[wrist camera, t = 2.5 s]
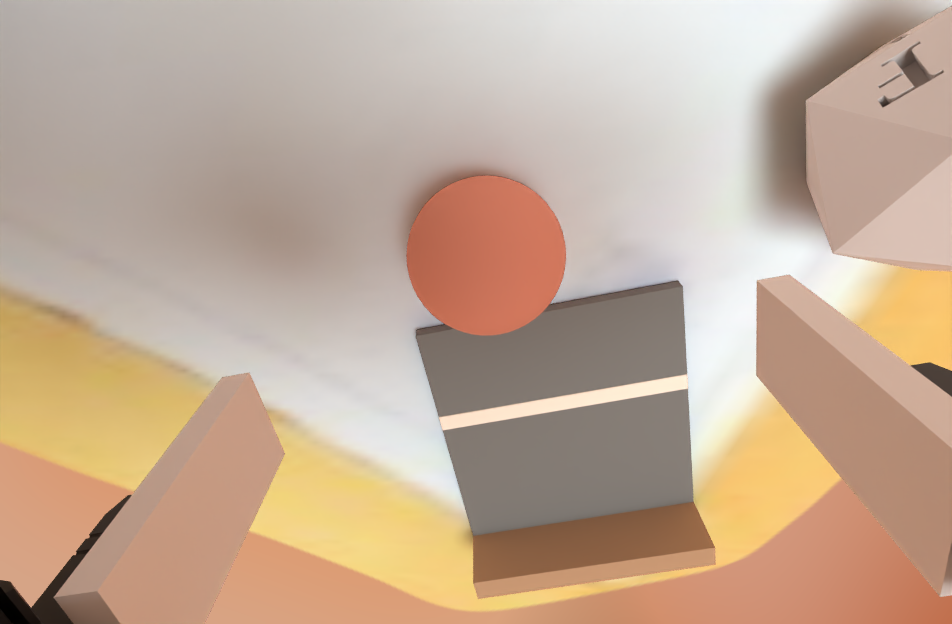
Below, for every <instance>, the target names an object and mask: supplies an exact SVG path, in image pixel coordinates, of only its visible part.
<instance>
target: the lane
mask: <svg viewBox="0 0 952 624" xmlns="http://www.w3.org/2000/svg"><path fill="white" fill-rule="evenodd" d="M416 339H417V342H418V346H419V349H420V353H421V356H422V360H423V363H424V367H425V370H426V374H427V377H428V381H429V384H430V387H431V391H432V394H433V398H434V401H435V405H436V408H437V412H438V415H439V419H440V423H441V426H442V430H443V432H444V436H445V439H446V443H447V446H448V450H449V453H450V457H451V460H452V464H453V467H454V471H455V474H456V478H457V481H458V484H459V488H460V491H461V495H462V498H463V502H464V505H465V509H466V512H467V516H468V519H469V523H470V526H471V529H472V533H473V583H474V587H475V590H476V593H477V597H478V599H480V598H487V597H494V596H501V595H508V594H515V593H522V592H529V591H536V590H543V589H550V588H556V587H563V586H570V585H577V584H584V583H591V582H598V581H605V580H612V579H619V578H626V577H633V576H639V575H646V574H653V573H660V572H667V571H674V570H681V569H688V568H695V567H702V566H709V565H715V564H716V563H715V546H714V544H713V542H712V540H711V538H710V536H709V534H708V532H707V529H706V527H705V525H704V523H703V521H702V519H701V517H700V515H699V512H698V510H697V508H696V506H695V504H694V502H693V482H692V462H691V442H690V422H689V403H688V378H687V363H686V343H685V324H684V304H683V286H682V285H681V284H680V283H679V281H676V282H670V283H665V284H660V285H654V286H649V287H644V288H638V289H633V290H627V291H622V292H617V293H611V294H606V295H601V296H595V297H590V298H585V299H579V300H574V301H569V302H563V303H558V304H553V305H548V307H547V308H546V309H545V310H544V311H543V312H542V313H541V314H540V315H539V316H538V317H536V318H535V319H534V320H532V321H531V322H529V323H528V324H526V325H525V326H523V327H521V328H519V329H516V330H514V331H511V332H508V333H504V334H499V335H486V336H482V335H473V334H469V333H464V332H462V331H459V330H456V329H454V328H452V327H450V326H448V325H440V326H435V327H430V328H424V329H419V330H417V332H416Z"/></svg>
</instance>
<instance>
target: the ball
mask: <svg viewBox="0 0 952 624" xmlns="http://www.w3.org/2000/svg"><path fill="white" fill-rule="evenodd" d="M565 262H566V248H565V241H564V237H563V232H562V229H561V227H560V224H559V222H558V220H557V218H556V216H555V214H554V213H553V211H552V210H551V209H550V207H549V206H548V204H547V203H546V202H545V201H544V200H543V199H542V198H541V197H540V196H539V195H538V194H537V193H535V192H534V191H533V190H531V189H530V188H528V187H526V186H525V185H523V184H521V183H518V182H516V181H514V180H511V179H507V178H503V177H498V176H475V177H469V178H465V179H462V180H459V181H457V182H454V183H452V184H450V185H448V186H446V187H445V188H443V189H441V190H440V191H439V192H437V193H436V194H435V195H434V196H432V198H431V199H430V200H429V201H428V202H427V203H426V204H425V205H424V207H423V208H422V209H421V211H420V212H419V214H418V216H417V217H416V219H415V221H414V223H413V226H412V228H411V231H410V234H409V239H408V244H407V267H408V272H409V277H410V280H411V283H412V286H413V288H414V290H415V292H416V294H417V296H418V298H419V299H420V301H421V302H422V303H423V305H424V306H425V307H426V308H427V309H428V311H429V312H430V313H431V314H432V315H433V316H435V317H436V318H437V319H438V320H440V321H441V322H443V323H444V324H446V325H448V326H450V327H452V328H454V329H456V330H459V331H462V332H464V333H469V334H473V335H482V336H486V335H499V334H504V333H508V332H511V331H514V330H516V329H519V328H521V327H523V326H525V325H526V324H528V323H529V322H531V321H532V320H534V319H535V318H536V317H538V316H539V315H540V314H541V313H542V312H543V311H544V310H545V309H546V308H547V307H548V305H549V304H550V303H551V301H552V300H553V298H554V297H555V295H556V293H557V291H558V289H559V287H560V284H561V281H562V279H563V275H564V270H565Z"/></svg>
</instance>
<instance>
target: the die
mask: <svg viewBox="0 0 952 624" xmlns="http://www.w3.org/2000/svg"><path fill="white" fill-rule="evenodd" d="M806 182H807V185H808V188H809V191H810V193H811V196H812V199H813V201H814V204H815V207H816V209H817V212H818V215H819V217H820V220H821V223H822V226H823V228H824V231H825V234H826V236H827V239H828V242H829V244H830V247H831V250H832V252H833V254H838V255H843V256H848V257H853V258H858V259H864V260H869V261H874V262H879V263H884V264H889V265H894V266H900V267H905V268H910V269H915V270H931V271H952V6H951V7H949V8H947V9H945V10H944V11H942V12H940V13H938V14H937V15H935V16H933V17H931V18H930V19H928V20H926V21H925V22H923V23H921V24H919V25H918V26H916V27H914V28H912V29H911V30H909V31H907V32H905V33H904V34H902V35H900V36H899V37H897V38H895V39H893V40H892V41H890V42H888V43H886V44H885V45H883V46H881V47H880V48H878V49H877V50H875V51H874V52H873V53H871V54H870V55H868V56H867V57H866V58H864V59H863V60H862V61H860V62H859V63H858V64H856V65H855V66H853V67H852V68H850V69H849V70H848V71H846V72H845V73H843V74H842V75H841V76H839V77H838V78H836V79H835V80H834V81H832V82H831V83H830V84H828V85H827V86H825V87H824V88H823V89H821V90H820V91H818V92H817V93H816V94H814V95H813V96H811V97H810V98H809V99H807V100H806Z"/></svg>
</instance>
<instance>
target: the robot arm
mask: <svg viewBox="0 0 952 624" xmlns="http://www.w3.org/2000/svg"><path fill="white" fill-rule="evenodd" d="M756 375H757V377H758V378H759V379H760V380H761V381H762V383H763V384H764V385H765V386H766V387H767V389H768V390H769V391H770V392H771V394H772V395H773V396H774V397H775V398H776V400H777V401H778V402H779V403H780V404H781V406H782V407H783V408H784V409H785V410H786V412H787V413H788V414H789V415H790V416H791V418H792V419H793V420H794V421H795V422H796V424H797V425H798V426H799V427H800V428H801V430H802V431H803V432H804V433H805V434H806V436H807V437H808V438H809V439H810V441H811V442H812V443H813V444H814V445H815V447H816V448H817V449H818V450H819V451H820V453H821V454H822V455H823V456H824V457H825V459H826V460H827V461H828V462H829V463H830V465H831V466H832V467H833V468H834V469H835V471H836V472H837V473H838V474H839V475H840V477H841V478H842V479H843V480H844V481H845V483H846V484H847V485H848V486H849V487H850V489H851V490H852V491H853V492H854V494H855V495H856V496H857V497H858V498H859V499H860V501H861V502H862V503H863V504H864V506H865V507H866V508H867V509H868V510H869V511H870V513H871V514H872V515H873V516H874V518H875V519H876V520H877V521H878V522H879V524H880V525H881V526H882V527H883V528H884V530H885V531H886V532H887V533H888V534H889V536H890V537H891V538H892V539H893V541H894V542H895V543H896V544H897V545H898V546H899V548H900V549H901V550H902V551H903V553H904V554H905V555H906V556H907V557H908V558H909V560H910V561H911V562H912V563H913V565H914V566H915V567H916V568H917V569H918V571H919V572H920V573H921V574H922V575H923V577H924V578H925V579H926V580H927V581H928V583H929V584H930V585H931V586H932V588H933V589H934V590H935V591H936V592H937V593H938V595H939V596H940V597H942V596H950V595H952V371H950V370H948V369H945V368H943V367H940V366H937V365H935V364H932V363H930V362H929V363H923V364H917V365H911V366H910V365H909V364H907V363H906V362H905V361H903V360H902V359H901V358H899V357H898V356H897V355H895V354H894V353H893V352H891V351H890V350H889V349H887V348H886V347H885V346H883V345H882V344H881V343H879V342H878V341H877V340H875V339H874V338H873V337H871V336H870V335H869V334H867V333H866V332H865V331H863V330H862V329H861V328H860V327H858V326H857V325H856V324H854V323H853V322H852V321H850V320H849V319H848V318H846V317H845V316H844V315H842V314H841V313H840V312H838V311H837V310H836V309H834V308H833V307H832V306H830V305H829V304H828V303H826V302H825V301H824V300H822V299H821V298H820V297H818V296H817V295H816V294H814V293H813V292H812V291H810V290H809V289H808V288H806V287H805V286H804V285H802V284H801V283H800V282H798V281H797V280H796V279H794V278H793V277H792V276H790V275H784V276H779V277H773V278H767V279H762V280H757V342H756ZM284 455H285V453H284V450H283V448H282V446H281V444H280V441H279V439H278V437H277V434H276V432H275V430H274V428H273V425H272V423H271V421H270V419H269V416H268V414H267V412H266V409H265V407H264V405H263V403H262V400H261V398H260V396H259V394H258V391H257V389H256V387H255V384H254V382H253V380H252V378H251V375H250V373H244V374H238V375H232V376H227V377H222V378H221V379H220V381H219V382H218V383H217V385H216V386H215V387H214V389H213V390H212V391H211V393H210V394H209V395H208V396H207V398H206V399H205V400H204V402H203V403H202V404H201V406H200V407H199V408H198V410H197V411H196V412H195V413H194V415H193V416H192V417H191V419H190V420H189V421H188V423H187V424H186V425H185V426H184V428H183V429H182V430H181V432H180V433H179V434H178V436H177V437H176V438H175V440H174V441H173V442H172V443H171V445H170V446H169V447H168V449H167V450H166V451H165V453H164V454H163V455H162V457H161V458H160V459H159V460H158V462H157V463H156V464H155V466H154V467H153V468H152V470H151V471H150V472H149V474H148V475H147V476H146V477H145V479H144V480H143V481H142V483H141V484H140V485H139V487H138V488H137V489H136V490H135V492H134V493H133V494H132V495H128V496H127V497H126V498H124V499H123V500H122V501H121V502H120V503H118V504H117V505H116V506H115V507H114V508H113V509H111V510H110V511H109V512H108V513H106V514H105V516H104V517H103V518H102V520H100V522H99V523H98V524H97V526H96V527H95V528H94V529H93V531H92V532H91V533H90V534H89V535H90V538H88V539H85V541H84V542H83V543H82V545H81V546H80V547H79V548H78V550H77V551H76V552H77V553H76V555H73V556H72V557H71V559H70V560H69V561H68V562H67V564H66V565H65V566H64V567H63V569H62V570H61V571H60V572H59V574H58V575H57V576H56V577H55V579H54V580H53V581H52V583H51V584H50V585H49V586H48V588H47V589H46V590H45V591H44V593H43V594H42V595H41V596H40V598H39V599H38V600H37V601H36V603H35V604H34V605H33V606H32V608H31V607H30V606H29V605H28V604H27V602H26V601H25V600H24V598H23V597H22V596H21V595H20V593H19V592H18V591H17V590H16V589H15V587H14V586H13V585H12V583H11V582H9V581H3V580H0V624H205V622H206V620H207V618H208V616H209V614H210V612H211V609H212V607H213V605H214V603H215V601H216V599H217V597H218V595H219V592H220V590H221V588H222V586H223V584H224V582H225V580H226V578H227V576H228V573H229V571H230V569H231V567H232V565H233V563H234V561H235V558H236V556H237V554H238V552H239V550H240V548H241V546H242V544H243V541H244V540H245V537H246V535H247V533H248V531H249V529H250V527H251V525H252V523H253V520H254V518H255V516H256V514H257V512H258V510H259V508H260V506H261V503H262V501H263V499H264V497H265V495H266V493H267V491H268V489H269V486H270V484H271V482H272V480H273V478H274V476H275V474H276V472H277V470H278V467H279V465H280V463H281V461H282V459H283V457H284Z"/></svg>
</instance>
